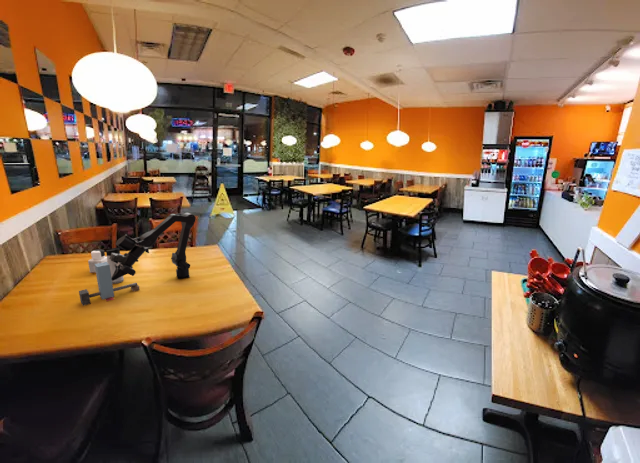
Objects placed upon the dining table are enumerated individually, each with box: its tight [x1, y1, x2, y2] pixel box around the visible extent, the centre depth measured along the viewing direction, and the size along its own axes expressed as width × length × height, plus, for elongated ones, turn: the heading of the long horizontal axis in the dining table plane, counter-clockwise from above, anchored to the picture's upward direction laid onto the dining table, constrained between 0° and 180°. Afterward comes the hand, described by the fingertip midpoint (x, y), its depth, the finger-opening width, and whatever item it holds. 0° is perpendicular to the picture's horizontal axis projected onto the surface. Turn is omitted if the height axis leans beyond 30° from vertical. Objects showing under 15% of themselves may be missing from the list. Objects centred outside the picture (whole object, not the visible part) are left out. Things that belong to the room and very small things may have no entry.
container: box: [87, 248, 108, 273], centre depth 177 cm, size 8×8×13 cm
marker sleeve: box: [95, 262, 115, 300], centre depth 145 cm, size 5×5×18 cm
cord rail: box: [78, 282, 140, 307], centre depth 148 cm, size 24×10×6 cm, turn 138°
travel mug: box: [105, 247, 125, 285], centre depth 162 cm, size 6×7×20 cm
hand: (111, 280), depth 148 cm, fingers closed
